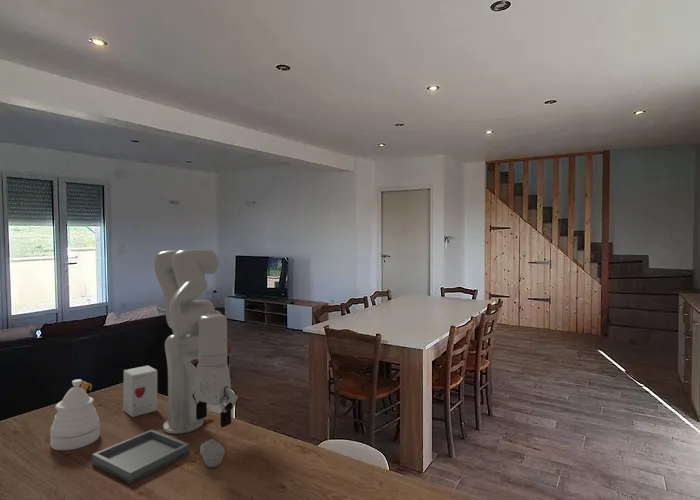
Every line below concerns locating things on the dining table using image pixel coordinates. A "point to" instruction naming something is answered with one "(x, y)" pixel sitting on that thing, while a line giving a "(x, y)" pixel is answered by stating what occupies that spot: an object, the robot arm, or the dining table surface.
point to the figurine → (85, 385)
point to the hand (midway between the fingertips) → (213, 421)
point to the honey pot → (74, 420)
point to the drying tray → (140, 455)
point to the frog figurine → (212, 453)
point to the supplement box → (140, 390)
